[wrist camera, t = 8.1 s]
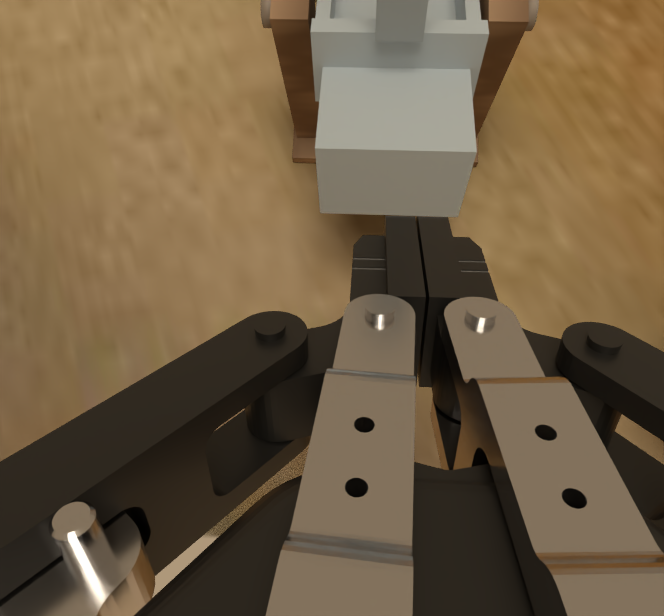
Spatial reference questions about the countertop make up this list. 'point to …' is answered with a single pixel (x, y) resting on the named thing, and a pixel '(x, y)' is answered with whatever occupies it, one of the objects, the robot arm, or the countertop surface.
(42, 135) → the countertop surface
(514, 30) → the stand
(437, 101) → the chute
